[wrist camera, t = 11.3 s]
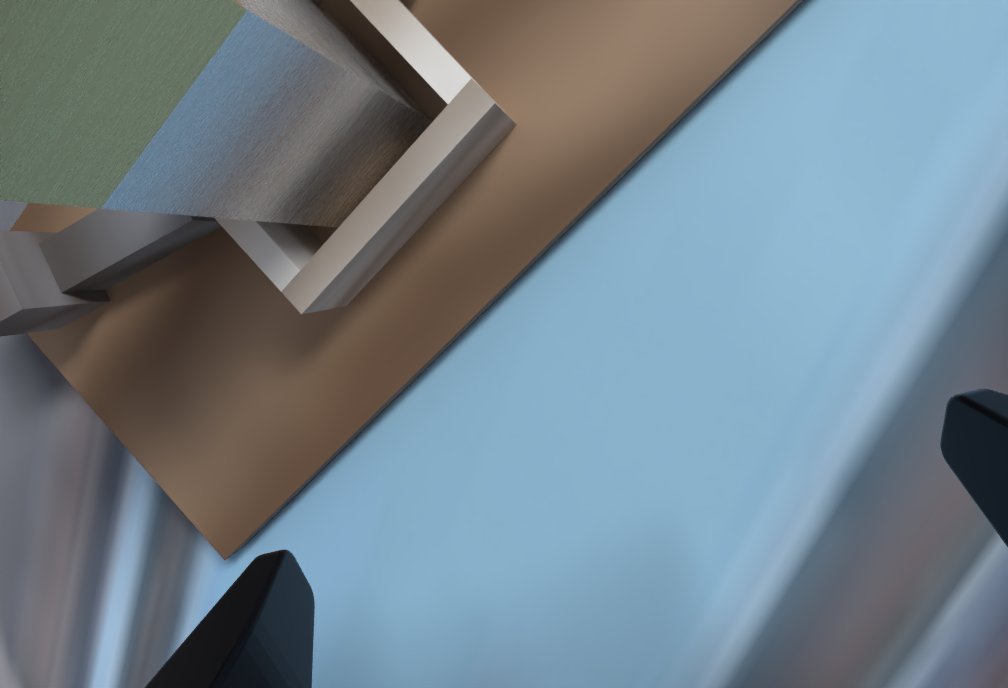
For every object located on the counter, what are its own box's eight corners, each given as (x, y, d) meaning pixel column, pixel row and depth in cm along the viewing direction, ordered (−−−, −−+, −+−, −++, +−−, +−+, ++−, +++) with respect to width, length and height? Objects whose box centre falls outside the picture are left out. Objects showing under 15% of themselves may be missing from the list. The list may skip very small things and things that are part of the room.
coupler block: (436, 124, 17) (-115, -210, 5) (344, 227, 18) (-306, 175, 6) (339, 22, 18) (-433, -556, 5) (254, 130, 19) (-565, -125, 6)
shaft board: (878, -74, 15) (957, -183, 11) (243, 546, 22) (157, 609, 18) (517, -435, 16) (475, -655, 12) (6, 275, 23) (-127, 281, 19)
